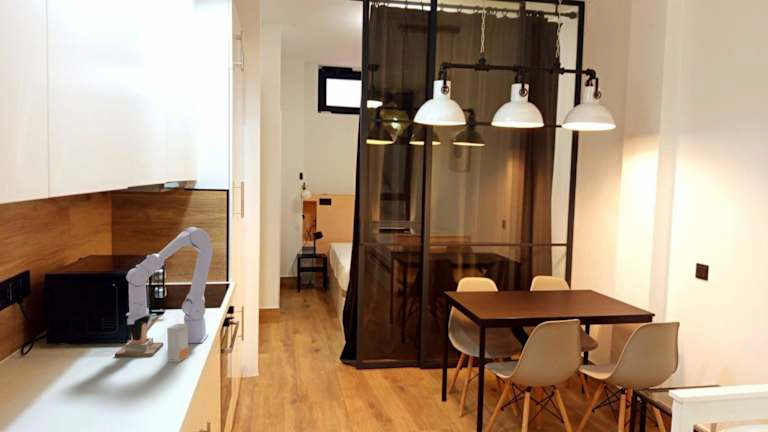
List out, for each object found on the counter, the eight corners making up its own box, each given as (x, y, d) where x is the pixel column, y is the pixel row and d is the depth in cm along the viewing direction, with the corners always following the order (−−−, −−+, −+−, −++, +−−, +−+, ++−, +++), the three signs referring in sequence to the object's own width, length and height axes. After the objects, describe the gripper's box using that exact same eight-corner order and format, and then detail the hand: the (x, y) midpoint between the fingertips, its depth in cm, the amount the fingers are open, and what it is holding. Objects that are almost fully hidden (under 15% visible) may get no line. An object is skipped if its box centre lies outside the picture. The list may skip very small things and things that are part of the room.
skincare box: (178, 362, 177) (177, 329, 176) (167, 361, 178) (166, 328, 177) (188, 356, 183) (187, 323, 182) (178, 355, 184) (177, 323, 183)
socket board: (127, 346, 193) (127, 336, 193) (163, 345, 194) (162, 336, 194) (114, 357, 182) (114, 347, 182) (152, 356, 183) (152, 346, 183)
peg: (135, 344, 190) (135, 322, 189) (147, 343, 190) (146, 322, 189) (131, 347, 186) (130, 326, 185) (142, 347, 186) (142, 326, 186)
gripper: (134, 296, 193) (135, 331, 195) (117, 307, 179) (119, 344, 180) (153, 296, 194) (155, 331, 195) (138, 306, 180) (140, 344, 181)
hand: (139, 337), depth 188 cm, fingers closed on peg, 4 cm apart
